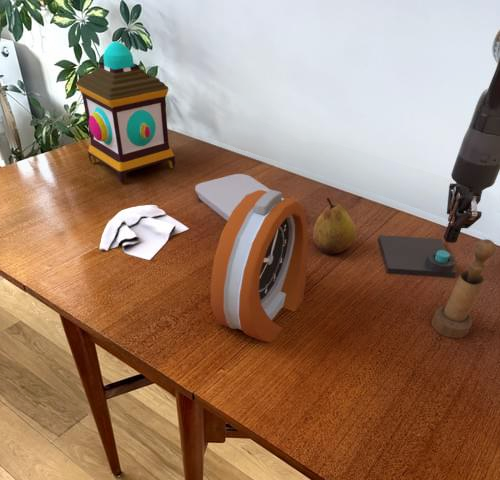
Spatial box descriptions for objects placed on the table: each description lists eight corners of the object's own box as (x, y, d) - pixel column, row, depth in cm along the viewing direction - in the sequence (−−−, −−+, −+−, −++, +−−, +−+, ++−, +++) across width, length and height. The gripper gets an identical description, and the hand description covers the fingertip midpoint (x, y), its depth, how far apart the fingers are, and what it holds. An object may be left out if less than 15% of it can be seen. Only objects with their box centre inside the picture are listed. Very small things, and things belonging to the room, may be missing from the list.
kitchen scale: (439, 244, 105) (443, 232, 103) (454, 278, 96) (459, 266, 94) (377, 240, 106) (380, 228, 104) (387, 274, 96) (390, 262, 94)
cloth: (156, 201, 115) (155, 192, 113) (204, 241, 102) (203, 232, 101) (76, 224, 106) (74, 215, 104) (117, 271, 93) (115, 261, 91)
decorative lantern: (120, 188, 119) (98, 55, 99) (82, 162, 130) (56, 38, 109) (183, 168, 130) (175, 44, 109) (143, 146, 140) (130, 29, 119)
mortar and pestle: (453, 343, 81) (494, 257, 69) (423, 323, 85) (457, 238, 73) (475, 329, 84) (518, 244, 72) (446, 310, 88) (482, 226, 76)
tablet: (243, 180, 126) (243, 171, 124) (304, 221, 110) (305, 213, 109) (190, 194, 118) (190, 185, 117) (248, 240, 103) (249, 231, 102)
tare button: (445, 256, 97) (448, 250, 96) (449, 263, 95) (451, 257, 94) (433, 255, 97) (435, 249, 96) (436, 262, 95) (438, 256, 94)
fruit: (357, 245, 104) (368, 195, 95) (339, 264, 98) (350, 212, 90) (322, 233, 107) (331, 183, 99) (304, 250, 101) (311, 199, 93)
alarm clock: (259, 357, 77) (268, 238, 62) (209, 335, 80) (206, 218, 65) (312, 288, 91) (330, 178, 76) (268, 272, 95) (276, 164, 79)
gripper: (516, 171, 76) (478, 260, 88) (490, 141, 86) (459, 225, 98) (470, 169, 76) (438, 258, 88) (450, 139, 86) (423, 223, 98)
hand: (449, 240), depth 93 cm, fingers closed
